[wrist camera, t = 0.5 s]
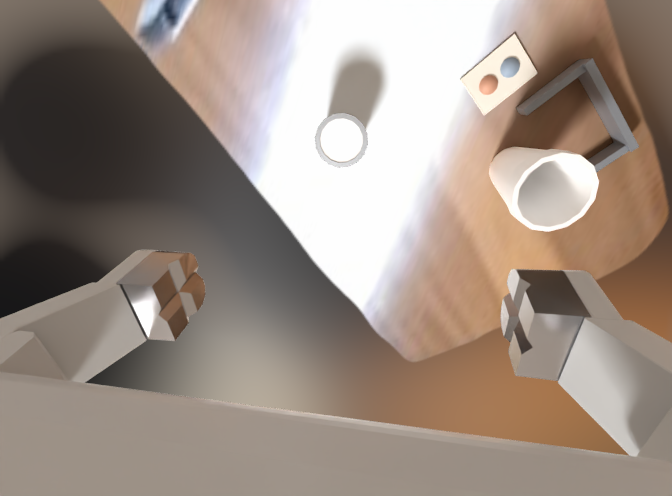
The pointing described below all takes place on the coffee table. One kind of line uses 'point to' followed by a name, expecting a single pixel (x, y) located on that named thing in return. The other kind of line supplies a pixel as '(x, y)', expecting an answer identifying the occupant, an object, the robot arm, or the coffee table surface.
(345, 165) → the shot glass
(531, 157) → the foam cup
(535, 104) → the grey cup holder
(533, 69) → the card
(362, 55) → the coffee table surface
